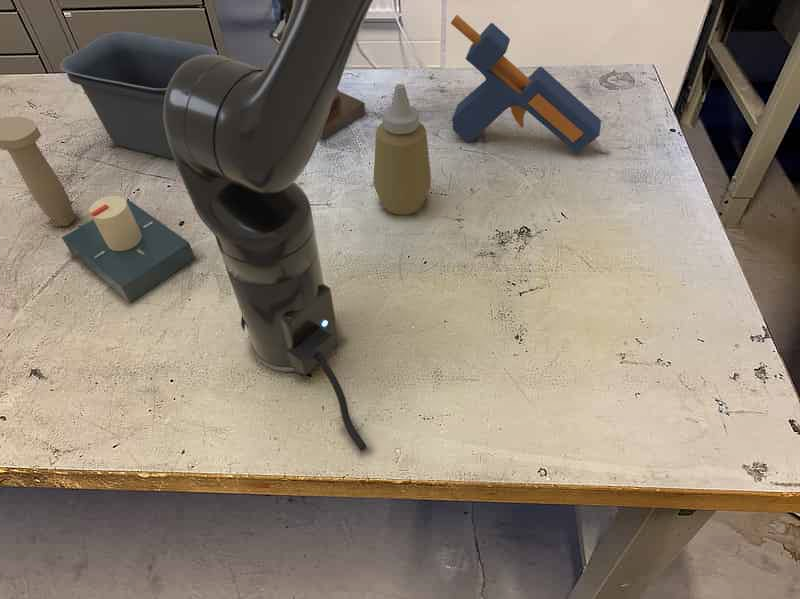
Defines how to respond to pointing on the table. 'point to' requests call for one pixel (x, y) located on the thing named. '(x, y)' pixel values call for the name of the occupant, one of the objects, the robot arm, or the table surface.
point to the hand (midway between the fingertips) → (312, 77)
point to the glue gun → (519, 94)
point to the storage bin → (131, 84)
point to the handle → (35, 169)
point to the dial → (116, 223)
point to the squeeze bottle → (401, 157)
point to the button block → (342, 113)
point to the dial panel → (132, 255)
